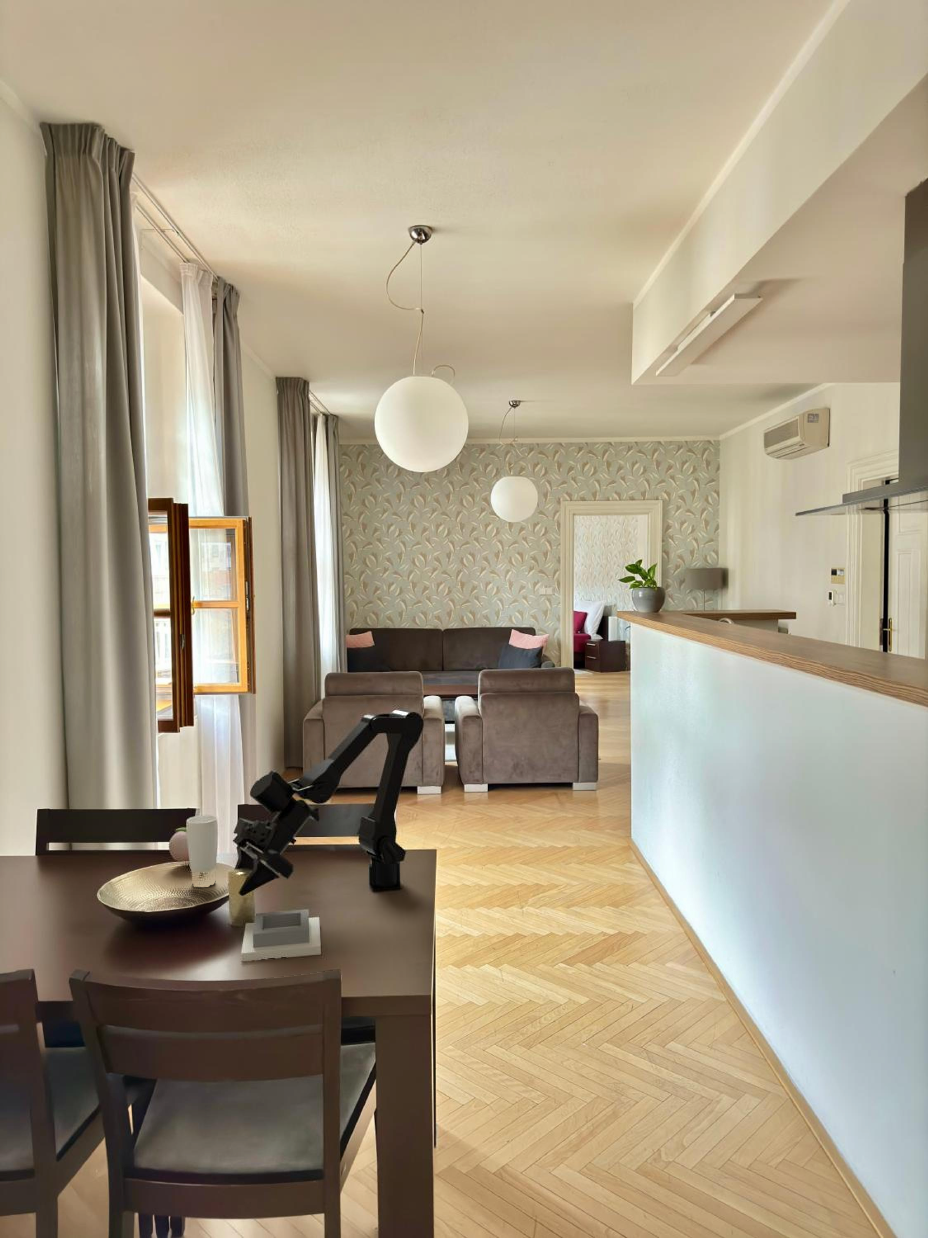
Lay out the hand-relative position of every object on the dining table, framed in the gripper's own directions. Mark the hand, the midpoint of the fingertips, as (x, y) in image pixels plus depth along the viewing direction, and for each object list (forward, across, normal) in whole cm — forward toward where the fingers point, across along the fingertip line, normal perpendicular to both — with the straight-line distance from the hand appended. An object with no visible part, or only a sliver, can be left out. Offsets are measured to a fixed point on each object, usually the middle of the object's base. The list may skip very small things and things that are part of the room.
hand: (235, 890), depth 171 cm
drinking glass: (+3, -26, +6) cm, 27 cm away
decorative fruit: (+2, -41, +8) cm, 42 cm away
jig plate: (+2, +14, +7) cm, 16 cm away
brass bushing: (+4, 0, +6) cm, 7 cm away
